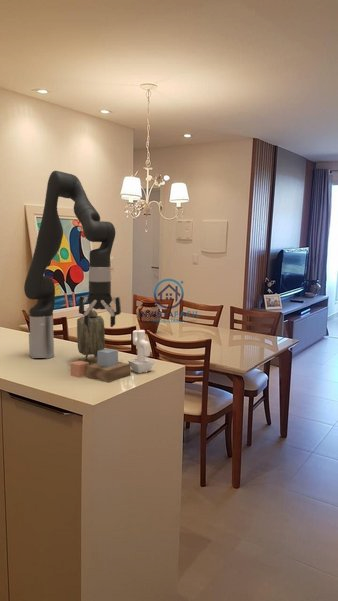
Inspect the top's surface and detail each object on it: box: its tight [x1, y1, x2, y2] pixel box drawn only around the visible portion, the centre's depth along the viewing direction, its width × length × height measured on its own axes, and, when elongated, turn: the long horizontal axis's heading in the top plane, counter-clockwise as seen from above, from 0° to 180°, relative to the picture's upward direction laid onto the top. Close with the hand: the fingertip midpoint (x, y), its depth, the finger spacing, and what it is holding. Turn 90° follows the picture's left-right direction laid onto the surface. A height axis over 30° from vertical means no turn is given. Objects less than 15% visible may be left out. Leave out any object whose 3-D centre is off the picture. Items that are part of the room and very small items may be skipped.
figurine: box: [127, 329, 156, 374], centre depth 165 cm, size 7×9×15 cm
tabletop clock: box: [76, 302, 106, 362], centre depth 179 cm, size 14×9×25 cm, turn 16°
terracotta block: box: [69, 360, 90, 378], centre depth 160 cm, size 4×4×4 cm
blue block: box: [96, 348, 119, 367], centre depth 159 cm, size 5×5×5 cm
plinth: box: [85, 361, 132, 383], centre depth 159 cm, size 11×11×4 cm
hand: (99, 326), depth 159 cm, fingers open, 8 cm apart
